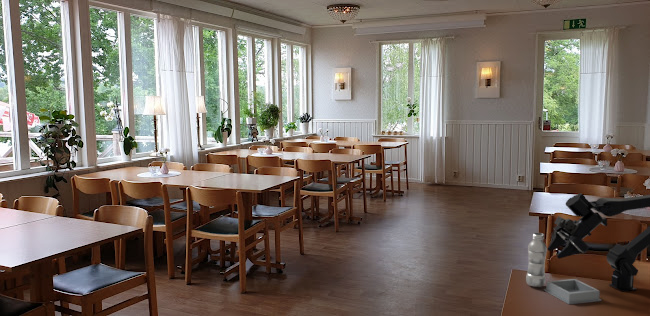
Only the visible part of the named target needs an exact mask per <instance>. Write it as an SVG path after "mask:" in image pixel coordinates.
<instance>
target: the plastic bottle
mask: <svg viewBox="0 0 650 316" xmlns="http://www.w3.org/2000/svg"><path fill="white" fill-rule="evenodd" d="M544 240H545V234H544V233H541V232H533V233H532V240H531V241H530V242H529V243H528V246H527V252H528V253H527V254H528V264H527V265H528V266H527V267H528V268H527V272H526V276H525V281H526V284H527V285H529V286H531V287H533V288H542V287H544V286H545V284H546V282H547V281H546V275H545V272H546V271H545V263H546V256H547V252H548V247H547V244H546V243H545V242H544Z"/></svg>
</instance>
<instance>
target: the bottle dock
mask: <svg viewBox="0 0 650 316" xmlns="http://www.w3.org/2000/svg"><path fill="white" fill-rule="evenodd" d="M545 284H546V287H545V288H544V289H543V291H544V292H546V293H548V294H549V295H552V296H554V297H555V298H557V299H559V300H560V301H562V302H564V303H565V304H567V305H577V304H584V303H585V304H586V303H593V302H594V303H595V302H602V299H601V298H600V290H599V289H597V288H595V287H592V286H591V285H589V284H587V283H585V282H582V281H580V280H579V279H577V278H569V279H559V280H548V281H546V283H545Z"/></svg>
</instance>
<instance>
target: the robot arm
mask: <svg viewBox="0 0 650 316" xmlns="http://www.w3.org/2000/svg"><path fill="white" fill-rule="evenodd" d="M565 206H566V207H567V209H569V210H570V211H571V212H572V213H573V215H575V217H580V218H578V220H575V219H574V220H573V219H570V218H566V219H565V218H563V217H562V216H559V215H558V216H557V217H556V220H555V221H554V224H555V225H556V226H554V227H553V235H554V237H552V238H553V239H552V240H551V242H550V244H549V245H548V247H547V252H548V251H549V252H551V251H553V250H556V249H557V248H560V247H562V246H564V245H565V246H564V247H563V248H562V250H560V251H559V253H558V254H557V255H556V258H557V259H562V258H567V257H570V256H574V255H578V254H585V253H587V252H588V251H589V247H590V246H588V245H589V244H587V243H586V242H585V241H584V239H585V238H586V237H587V236H588V237H591V235H592V233H591V232H592V231H594V230H595V229H596V228H597V227H598V226H600V225H602V226H605V227H608V218H606V217H610V218H611V217H613V216H614V217H615V216H617V215H620V214H622V213H624V212H626V211H633V210H637V209H638V210H640V209H646V208H650V194H647V195H639V196H633V197H632V196H631V197H625V198H616V197H615V198H613V197H599V198H597V200H594V201H593V200H592V201H589V200H588V199H587V197H586V196H585V195H584V194H583V193H581V192H579V193H578V194H576V195H574V196H571V197H569V198H568V199H567V200H566V202H565ZM594 211H595V212H594ZM601 214H602V215H603V216H604V217H603V216H602V215H601ZM605 216H606V217H605ZM649 246H650V225H649V226H648V227H647V228H646V229H644V230H643V231H641V232H640V233H639V234H638V235H637V236H636V237H634V238H633V239H631V241H628V243H627V244H624V245H621V244H619V243H617V244H615V245H614V246H613V247H612V248H610V249H608V251H609V252H608V253H606V262H607V263H608V264H609V265H610V268H611V269H613V270H612V275H611V283H608V286H609V285H610V287H611V286H612V288H613V287H614V289H615V290H618V291H620V292H630V291H629V290H632V291H637V288H636V287H634V281H635V280H634V279H635V278H634V277H635V276H637V274H638V273H639V269H637V267H636V266H634V264H635V262H636V260H637V257H638V255H639V254H640V253H642V252H643V251H644V250H646V249H647V248H648V247H649Z"/></svg>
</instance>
